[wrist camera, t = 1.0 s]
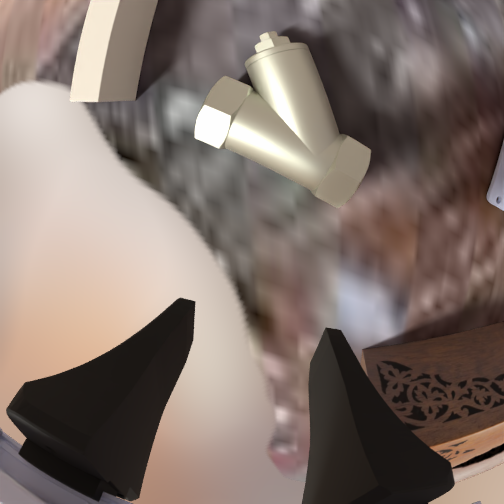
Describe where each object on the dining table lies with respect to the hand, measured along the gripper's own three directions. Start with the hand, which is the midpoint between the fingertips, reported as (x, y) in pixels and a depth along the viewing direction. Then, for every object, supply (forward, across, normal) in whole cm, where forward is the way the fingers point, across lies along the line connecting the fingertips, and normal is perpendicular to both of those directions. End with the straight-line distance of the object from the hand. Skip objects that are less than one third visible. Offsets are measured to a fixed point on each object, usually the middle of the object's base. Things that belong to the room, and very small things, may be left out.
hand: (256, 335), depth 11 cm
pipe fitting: (+9, 0, -8) cm, 12 cm away
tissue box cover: (+9, -24, +10) cm, 27 cm away
